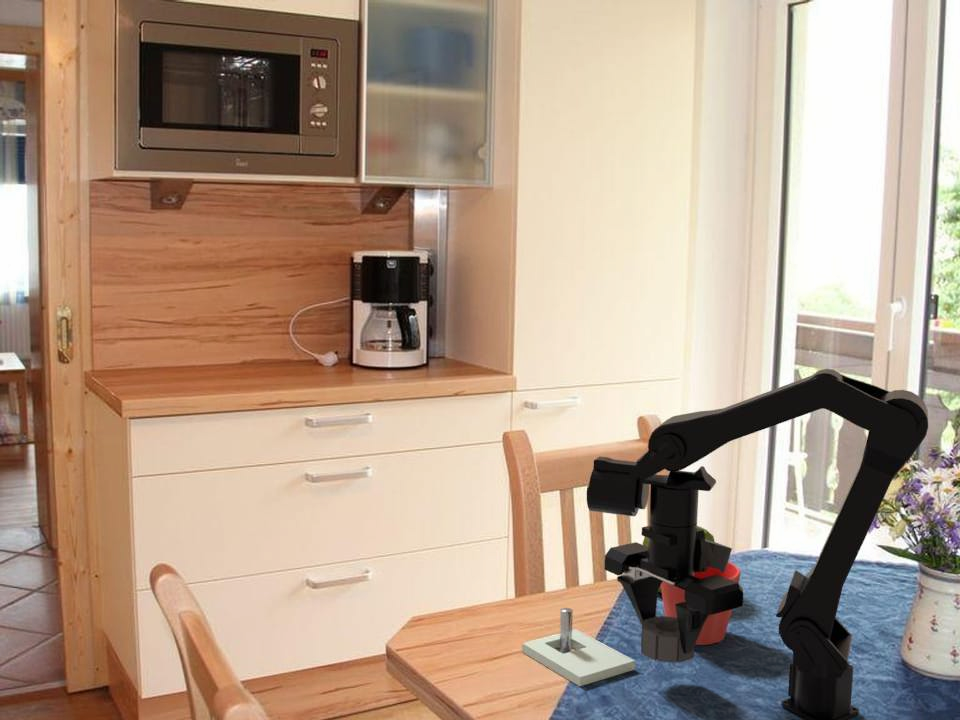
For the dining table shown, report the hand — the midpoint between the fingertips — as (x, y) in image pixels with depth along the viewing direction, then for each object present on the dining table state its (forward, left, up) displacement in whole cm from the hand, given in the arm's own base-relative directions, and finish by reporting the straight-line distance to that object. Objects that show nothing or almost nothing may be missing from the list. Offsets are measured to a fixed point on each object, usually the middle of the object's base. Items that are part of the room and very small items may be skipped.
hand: (668, 642), depth 131 cm
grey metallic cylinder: (+13, +5, -5) cm, 15 cm away
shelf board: (+11, +5, -5) cm, 13 cm away
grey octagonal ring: (0, 0, -1) cm, 1 cm away
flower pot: (+9, -14, -5) cm, 17 cm away
